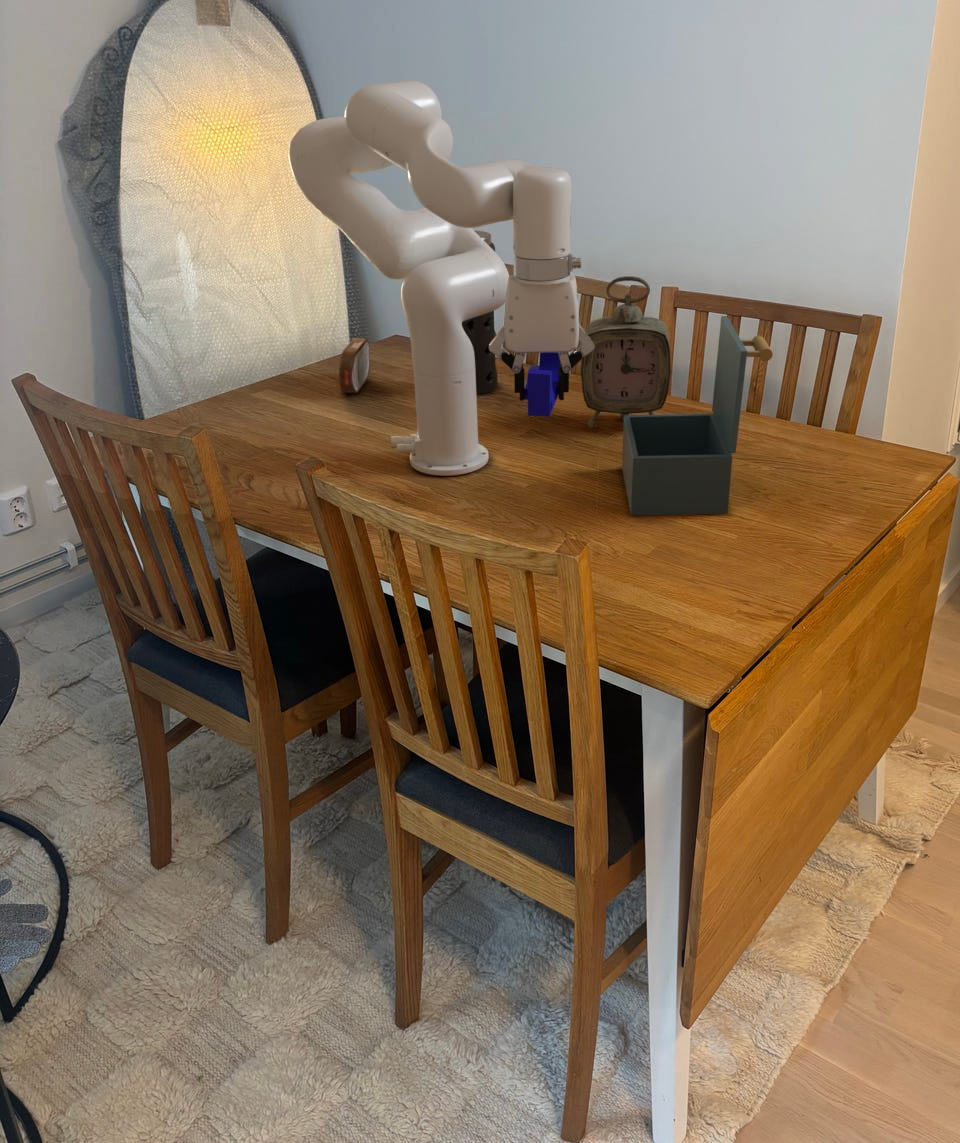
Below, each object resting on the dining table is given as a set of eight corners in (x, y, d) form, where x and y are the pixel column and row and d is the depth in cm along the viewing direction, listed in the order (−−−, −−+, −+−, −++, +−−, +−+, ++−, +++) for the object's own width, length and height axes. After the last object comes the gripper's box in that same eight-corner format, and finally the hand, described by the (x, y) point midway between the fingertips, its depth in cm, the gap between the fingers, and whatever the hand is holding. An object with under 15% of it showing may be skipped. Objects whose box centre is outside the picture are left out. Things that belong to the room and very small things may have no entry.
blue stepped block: (531, 384, 157) (531, 345, 154) (561, 386, 156) (562, 346, 153) (517, 414, 147) (516, 372, 144) (549, 416, 146) (550, 374, 143)
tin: (359, 373, 212) (355, 331, 208) (374, 373, 212) (370, 331, 208) (339, 400, 199) (334, 355, 195) (356, 400, 199) (351, 356, 195)
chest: (631, 515, 152) (633, 458, 148) (622, 468, 167) (623, 415, 163) (727, 514, 152) (732, 456, 147) (710, 467, 166) (714, 413, 162)
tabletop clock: (580, 432, 181) (581, 283, 169) (582, 413, 188) (584, 269, 176) (667, 433, 179) (675, 282, 167) (666, 414, 187) (673, 268, 174)
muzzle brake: (443, 396, 198) (499, 395, 198) (434, 241, 185) (494, 239, 185) (445, 380, 207) (499, 378, 206) (437, 230, 193) (494, 228, 193)
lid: (741, 351, 140) (783, 351, 140) (721, 315, 155) (759, 315, 155) (729, 453, 147) (769, 453, 147) (711, 410, 162) (748, 410, 162)
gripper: (604, 259, 146) (600, 387, 155) (479, 261, 146) (482, 388, 155) (607, 273, 139) (603, 406, 148) (476, 275, 140) (480, 407, 149)
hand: (541, 395), depth 152 cm, fingers closed on blue stepped block, 4 cm apart
